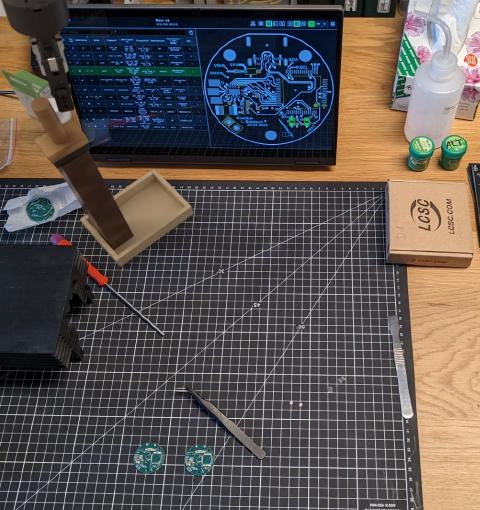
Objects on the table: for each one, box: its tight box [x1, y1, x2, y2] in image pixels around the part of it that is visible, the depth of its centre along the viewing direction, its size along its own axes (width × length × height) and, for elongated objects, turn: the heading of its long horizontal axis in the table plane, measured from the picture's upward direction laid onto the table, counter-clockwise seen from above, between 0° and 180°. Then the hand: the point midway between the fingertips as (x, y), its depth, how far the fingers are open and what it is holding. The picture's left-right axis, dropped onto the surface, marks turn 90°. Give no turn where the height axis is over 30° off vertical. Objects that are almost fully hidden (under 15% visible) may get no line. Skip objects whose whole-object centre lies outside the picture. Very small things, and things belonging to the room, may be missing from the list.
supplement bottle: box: [48, 98, 80, 128], centre depth 121 cm, size 5×5×10 cm
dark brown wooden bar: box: [57, 150, 134, 250], centre depth 103 cm, size 4×4×26 cm
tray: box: [79, 168, 194, 267], centre depth 116 cm, size 17×12×4 cm
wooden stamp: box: [31, 97, 91, 169], centre depth 87 cm, size 6×4×10 cm, turn 131°
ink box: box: [0, 68, 53, 120], centre depth 122 cm, size 7×4×13 cm, turn 62°
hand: (61, 91), depth 91 cm, fingers open, 8 cm apart
